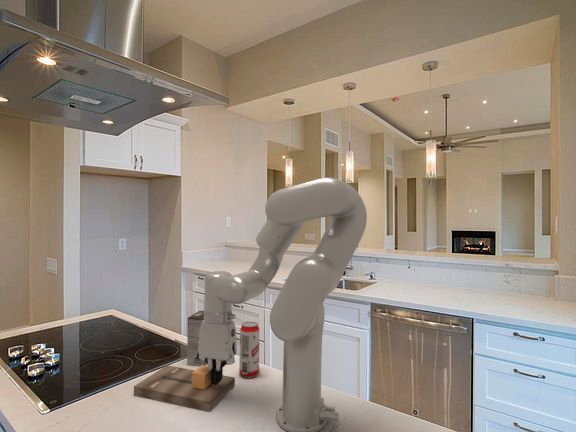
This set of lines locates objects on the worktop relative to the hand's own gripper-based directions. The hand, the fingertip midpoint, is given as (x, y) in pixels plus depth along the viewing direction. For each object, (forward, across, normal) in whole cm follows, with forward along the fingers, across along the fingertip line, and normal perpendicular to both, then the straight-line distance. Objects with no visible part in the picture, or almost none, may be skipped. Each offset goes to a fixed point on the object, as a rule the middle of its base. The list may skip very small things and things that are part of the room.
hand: (216, 382), depth 91 cm
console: (+4, +10, 0) cm, 10 cm away
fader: (+1, +4, 0) cm, 4 cm away
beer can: (+4, -3, -15) cm, 16 cm away
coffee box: (+4, +17, -19) cm, 26 cm away
